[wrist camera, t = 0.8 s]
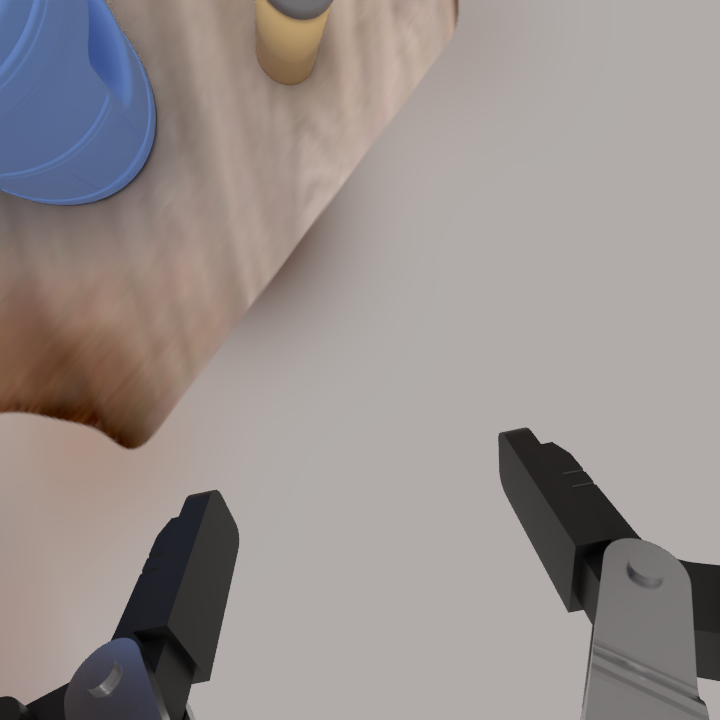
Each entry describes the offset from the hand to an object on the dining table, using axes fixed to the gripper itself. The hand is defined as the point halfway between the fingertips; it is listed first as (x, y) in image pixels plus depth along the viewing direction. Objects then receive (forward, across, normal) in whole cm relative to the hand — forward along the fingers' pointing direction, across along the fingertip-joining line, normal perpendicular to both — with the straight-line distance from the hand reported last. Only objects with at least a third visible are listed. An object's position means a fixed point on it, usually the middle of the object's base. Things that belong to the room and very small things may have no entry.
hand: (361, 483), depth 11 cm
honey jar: (+35, +1, -17) cm, 39 cm away
